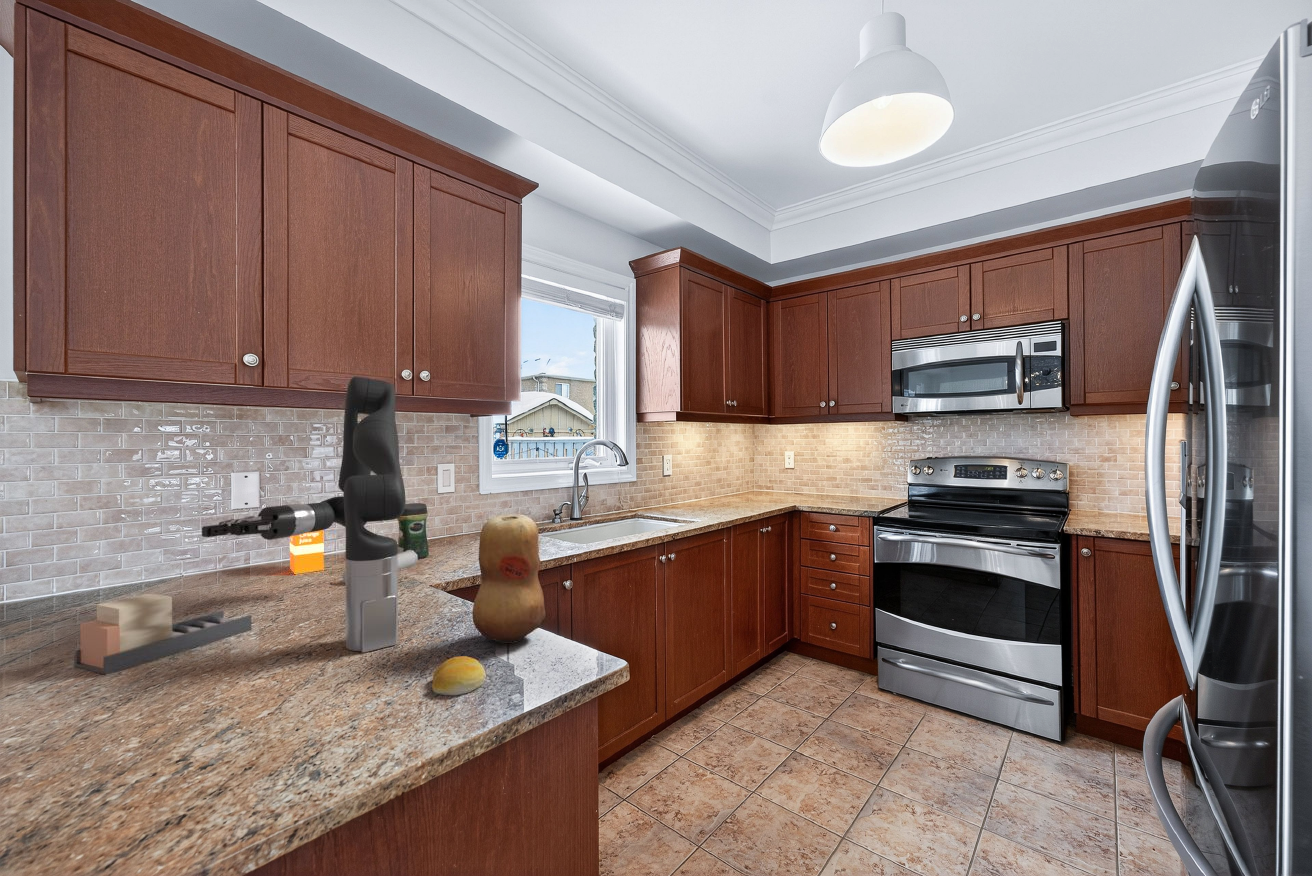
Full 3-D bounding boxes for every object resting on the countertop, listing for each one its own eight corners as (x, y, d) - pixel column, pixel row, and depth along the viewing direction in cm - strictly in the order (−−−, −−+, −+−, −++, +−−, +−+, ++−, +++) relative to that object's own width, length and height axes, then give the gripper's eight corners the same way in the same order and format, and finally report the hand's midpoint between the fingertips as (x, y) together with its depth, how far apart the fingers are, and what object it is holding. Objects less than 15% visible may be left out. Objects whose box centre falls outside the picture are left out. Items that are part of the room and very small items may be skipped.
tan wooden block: (150, 634, 108) (150, 593, 108) (172, 638, 106) (172, 596, 106) (96, 648, 101) (96, 604, 101) (119, 654, 98) (118, 608, 98)
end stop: (93, 659, 101) (92, 620, 101) (119, 665, 98) (119, 626, 98) (80, 662, 99) (80, 623, 99) (107, 669, 96) (107, 629, 96)
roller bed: (221, 624, 121) (221, 610, 121) (251, 629, 118) (251, 615, 118) (74, 666, 99) (74, 649, 99) (106, 675, 95) (105, 657, 95)
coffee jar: (422, 554, 194) (422, 501, 194) (431, 557, 188) (431, 503, 188) (393, 558, 188) (393, 503, 188) (401, 562, 182) (401, 505, 182)
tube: (355, 572, 152) (419, 553, 176) (340, 565, 154) (406, 547, 177) (350, 590, 153) (415, 569, 176) (336, 583, 154) (402, 562, 178)
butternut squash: (476, 658, 101) (475, 522, 101) (469, 635, 114) (469, 513, 114) (551, 647, 107) (550, 517, 107) (537, 625, 119) (536, 509, 119)
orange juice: (294, 575, 165) (294, 508, 165) (289, 570, 172) (289, 505, 172) (324, 571, 170) (324, 506, 170) (318, 566, 177) (318, 503, 177)
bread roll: (432, 701, 85) (431, 676, 85) (433, 678, 94) (432, 655, 94) (487, 692, 88) (487, 667, 88) (484, 670, 97) (483, 647, 97)
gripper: (267, 504, 132) (183, 512, 116) (306, 505, 128) (224, 514, 111) (267, 535, 132) (183, 548, 116) (306, 538, 127) (224, 552, 111)
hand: (204, 532), depth 114 cm, fingers closed
